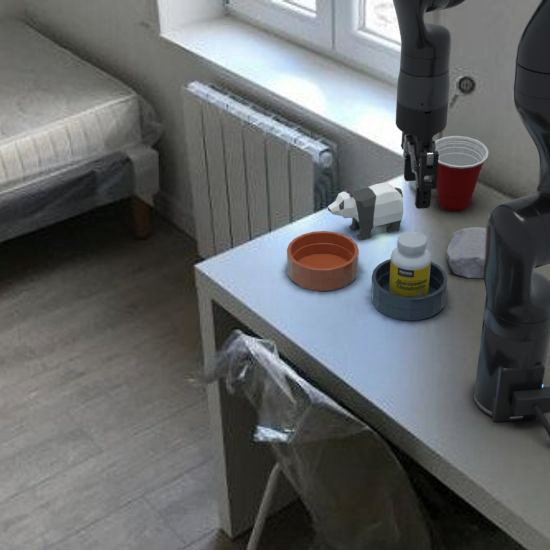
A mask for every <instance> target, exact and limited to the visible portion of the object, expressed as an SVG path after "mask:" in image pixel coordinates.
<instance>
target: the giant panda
mask: <svg viewBox="0 0 550 550" xmlns="http://www.w3.org/2000/svg"><path fill="white" fill-rule="evenodd" d="M403 198H404V196H403V190H402V188H400V187H395V186H393V185H392V184H391V183H389V182H380V183H376V184H375V183H374V184H372V185H370V186H366V187H364V188H360V189H358V190H355V191H351V192H350V191H349V189H348V188H347V187H345V188H344V191H341V192H339V193H338V194H337V196H336V197H335V199H334V201H333V202H332V203H330V204H329V205H328V206H327V211H328V212H330V213H331V214H332V215H335V216H339V217H342V218H344V219H351V220H352V221H351V224H350V225H349V227H348V228H349V231H351V232H353V231H359V233H358V234H356V238H357V240H359V241H364V240H367V239H368V240H369V239H370V238H371V237H372V236H371V235H372V231H373V229H374V227H378V226H383V225H387V224H388V226H387V227H385V232H386V233H389V234H390V233H395V232H398V231H400V228H401V223H402V221H403V216H404V200H403Z"/></svg>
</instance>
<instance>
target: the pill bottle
mask: <svg viewBox="0 0 550 550" xmlns="http://www.w3.org/2000/svg"><path fill="white" fill-rule="evenodd" d="M396 242H397V243H396V247H395V248H394V249H393V250H392V251H391V254H390V259H391V263H390V281H389V293H392V294H395V295H398V296H404V297H421V296H426V295H428V289H429V278H430V267H431V261H432V255H431V253H430V251H429V250H428V249H427V246H428V238H427V236H425V234H423V233H421V232H418V231H405V232H402V233H400V234H399V235H398V236H397V240H396Z"/></svg>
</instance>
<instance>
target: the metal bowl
mask: <svg viewBox="0 0 550 550" xmlns="http://www.w3.org/2000/svg"><path fill="white" fill-rule="evenodd" d="M390 263H391V258H388V259H386V260H384V261H382V262H381V263H379V264H377V265H376V266H375V267H374V269H373V270H372V274H371V287H370V298H371V302H372V304H373V305H374V307H375V308H376V309H377V310H378V311H379V312H380V313H382V314H384V315H385V316H387V317H390V318H392V319H396V320H400V321H401V320H402V321H420V320H425V319H429V318H431V317H434V316H435V315H436V314H438V313H440V312H441V311H442V310H443V308H444V307H445V306H446V299H447V290H448V289H447V288H448V278H449V277H448V275H447V272H446V271H445V270H444V269H443V268H442V267H441V266H440V265H439V264H437V263H436V262H433V261H432V260H431V267H430V278H429V289H428V295H426V296H421V297H404V296H398V295H395V294H392V293H389V281H390Z"/></svg>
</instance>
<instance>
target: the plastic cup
mask: <svg viewBox="0 0 550 550" xmlns="http://www.w3.org/2000/svg"><path fill="white" fill-rule="evenodd" d="M435 145H436V150H435V151H438V154H439V157H438V174H437V188H436V191H437V192H436V193H437V201H438V205H439V207H440V208H442V209H443V210H445V211H447V212H453V213H457V212H462V211H465V210H467V209H468V208H469V206H470V205H471V201H472V198H473V194H474V192H475V189H476V185H477V181H478V179H479V175H480V173H481V170H482V168H483V165H484V163H485V161H486V160H487V159H488V157H489V149H488V147H487V146H486V144H484V143H483V142H481V141H480V140H478V139H475V138H472V137H469V136H463V135H450V136H443V137H441V138H439V139H436V140H435Z"/></svg>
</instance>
